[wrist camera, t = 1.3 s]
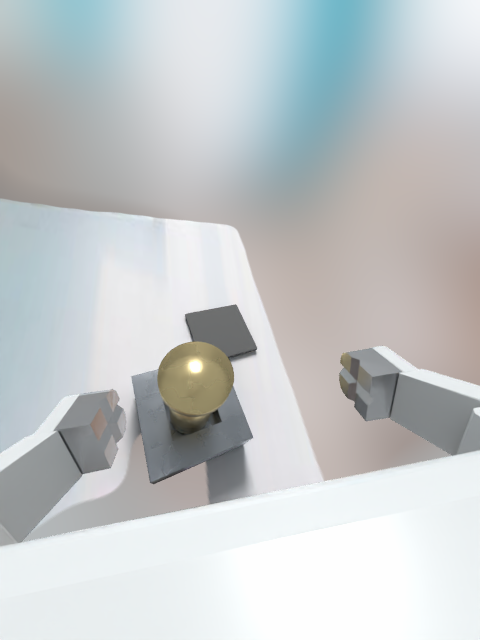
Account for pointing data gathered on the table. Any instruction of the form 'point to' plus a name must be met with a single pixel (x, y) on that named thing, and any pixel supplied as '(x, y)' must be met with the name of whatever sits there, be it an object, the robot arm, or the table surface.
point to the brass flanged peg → (194, 384)
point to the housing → (178, 448)
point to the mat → (222, 330)
